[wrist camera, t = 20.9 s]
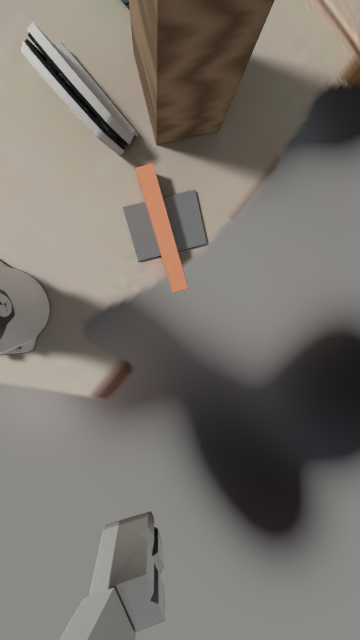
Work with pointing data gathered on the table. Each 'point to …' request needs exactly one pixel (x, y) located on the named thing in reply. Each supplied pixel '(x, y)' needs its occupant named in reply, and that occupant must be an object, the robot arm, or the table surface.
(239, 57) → the brown block
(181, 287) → the pin
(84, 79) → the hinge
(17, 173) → the table surface
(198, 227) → the mat
